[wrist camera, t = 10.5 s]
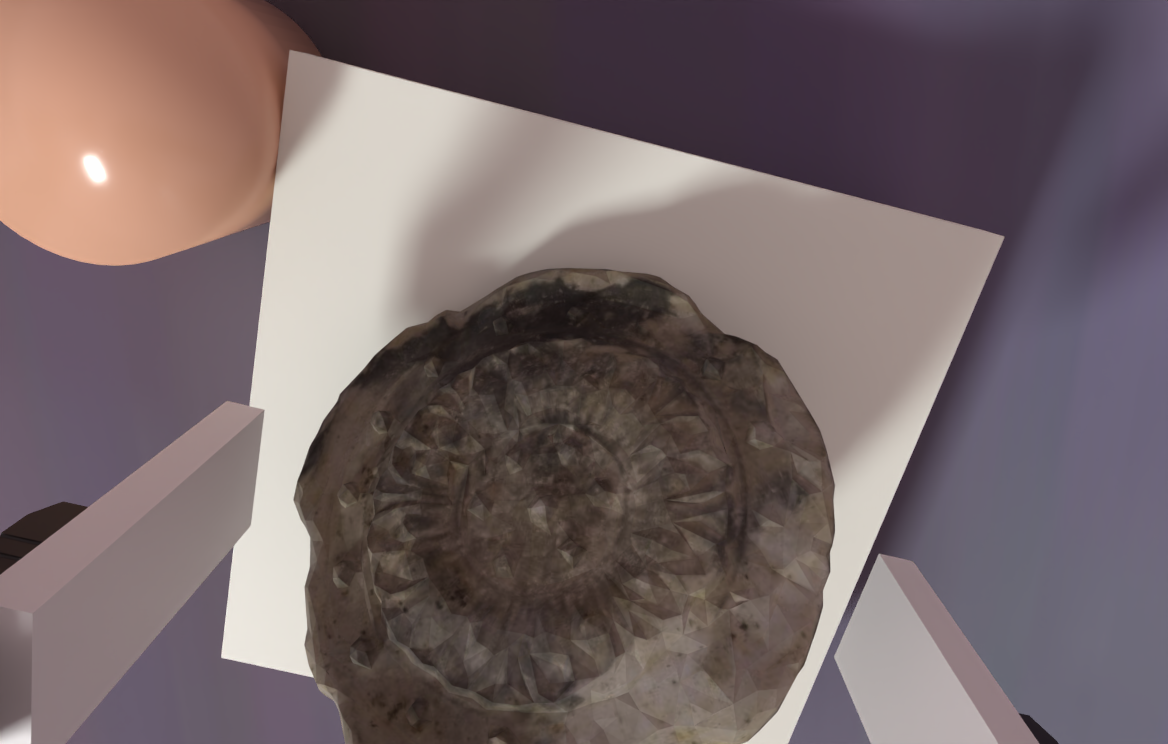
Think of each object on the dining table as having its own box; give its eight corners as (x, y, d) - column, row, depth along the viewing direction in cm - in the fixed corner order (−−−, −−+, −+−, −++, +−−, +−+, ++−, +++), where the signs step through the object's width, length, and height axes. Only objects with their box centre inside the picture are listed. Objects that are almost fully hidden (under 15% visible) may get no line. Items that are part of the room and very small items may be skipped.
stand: (279, 574, 25) (221, 657, 21) (349, 61, 20) (289, 49, 16) (748, 678, 26) (773, 776, 22) (931, 214, 21) (1004, 236, 17)
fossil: (585, 132, 16) (871, 469, 8) (773, 355, 22) (1035, 666, 14) (238, 453, 18) (224, 944, 11) (495, 575, 24) (600, 944, 17)
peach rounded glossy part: (110, 194, 21) (-71, 224, 15) (120, -42, 19) (-82, -106, 14) (324, 247, 21) (225, 296, 16) (355, 21, 20) (254, -17, 14)
